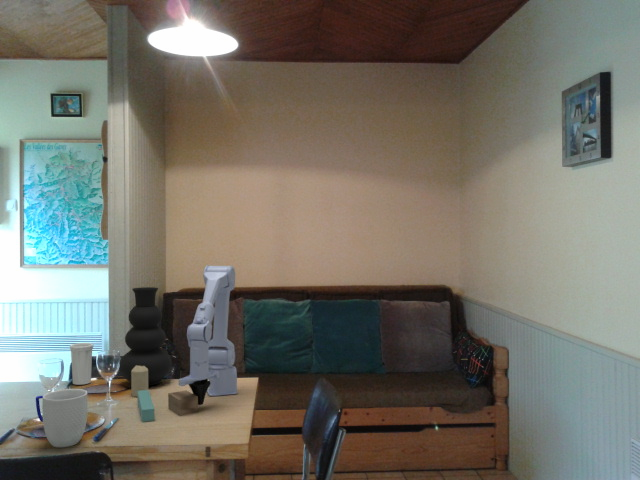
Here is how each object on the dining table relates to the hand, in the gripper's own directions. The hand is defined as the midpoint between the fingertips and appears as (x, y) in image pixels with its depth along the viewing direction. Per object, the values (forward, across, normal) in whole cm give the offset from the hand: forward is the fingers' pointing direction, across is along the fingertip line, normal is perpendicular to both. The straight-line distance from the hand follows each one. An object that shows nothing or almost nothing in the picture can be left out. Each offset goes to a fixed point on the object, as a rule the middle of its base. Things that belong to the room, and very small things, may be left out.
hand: (199, 404), depth 186 cm
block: (+2, +4, -3) cm, 5 cm away
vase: (+2, -7, -40) cm, 40 cm away
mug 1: (+2, +37, -17) cm, 41 cm away
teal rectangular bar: (+1, +12, -12) cm, 17 cm away
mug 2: (+2, +41, -4) cm, 41 cm away
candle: (+2, +3, -28) cm, 28 cm away
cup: (+2, +8, -58) cm, 58 cm away
